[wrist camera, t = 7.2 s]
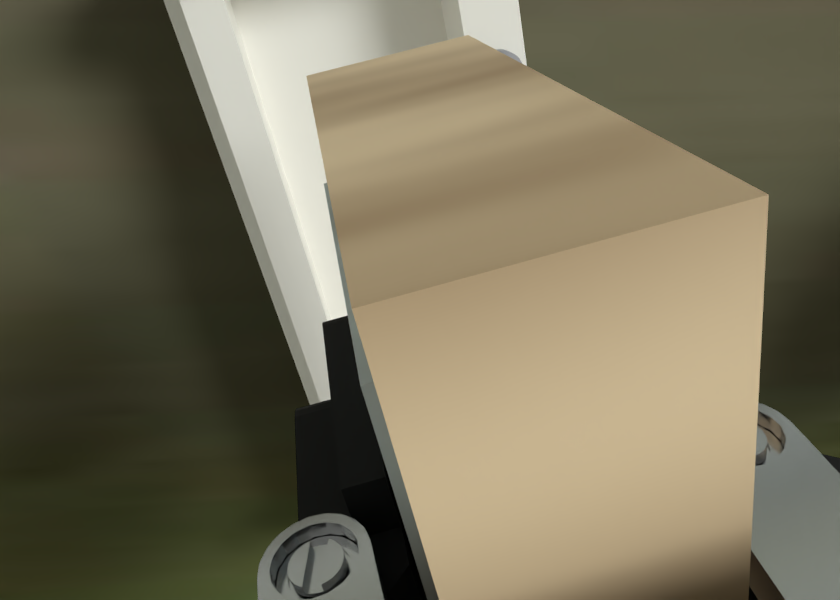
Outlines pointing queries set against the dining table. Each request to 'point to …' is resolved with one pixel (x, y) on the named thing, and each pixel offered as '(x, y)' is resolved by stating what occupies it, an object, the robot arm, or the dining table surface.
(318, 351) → the white pegged tray
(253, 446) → the dining table surface
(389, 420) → the oak frame
